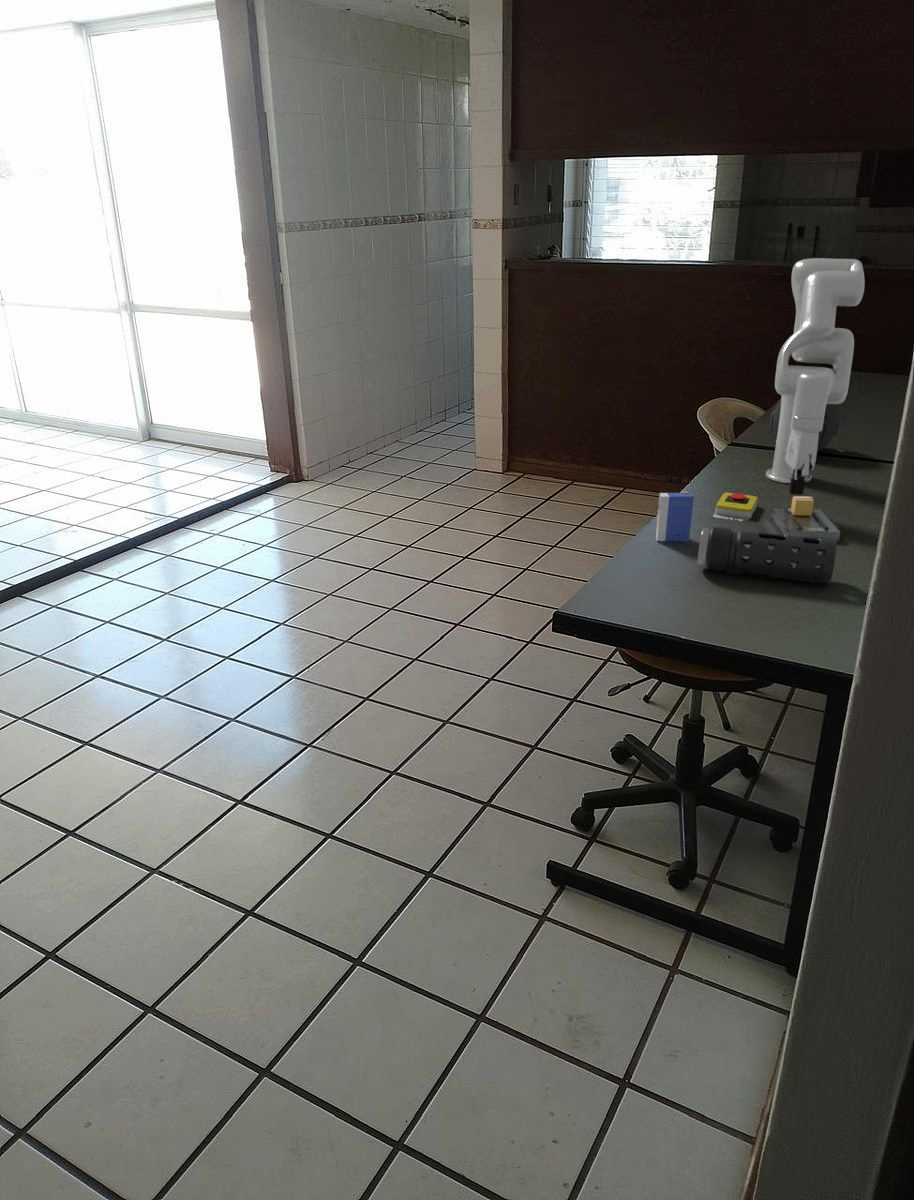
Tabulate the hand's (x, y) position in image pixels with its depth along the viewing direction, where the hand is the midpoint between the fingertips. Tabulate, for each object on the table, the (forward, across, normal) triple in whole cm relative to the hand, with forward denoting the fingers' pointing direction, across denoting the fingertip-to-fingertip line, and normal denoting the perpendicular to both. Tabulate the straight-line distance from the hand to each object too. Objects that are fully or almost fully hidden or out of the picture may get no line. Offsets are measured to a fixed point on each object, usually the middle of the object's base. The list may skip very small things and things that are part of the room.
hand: (795, 493), depth 232 cm
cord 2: (+6, +8, +7) cm, 12 cm away
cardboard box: (+3, +6, 0) cm, 7 cm away
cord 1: (+7, +15, -9) cm, 18 cm away
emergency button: (+7, -4, -14) cm, 16 cm away
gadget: (+4, -59, +19) cm, 62 cm away
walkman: (+7, +18, -34) cm, 39 cm away
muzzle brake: (+8, +39, -17) cm, 43 cm away
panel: (+6, +10, 0) cm, 12 cm away
